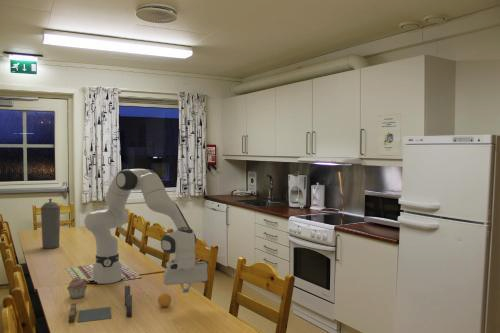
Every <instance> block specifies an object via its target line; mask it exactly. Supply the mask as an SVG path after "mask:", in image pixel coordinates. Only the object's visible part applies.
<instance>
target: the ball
mask: <svg viewBox="0 0 500 333" xmlns="http://www.w3.org/2000/svg"><path fill="white" fill-rule="evenodd" d="M171 302H172V297H171V295H170V294H168V293H166V292H165V293H161V294H160V295H159V296H158V297H157V303H158V305H159V306H160V307H162V308H167V307H169V306H170V305H171Z"/></svg>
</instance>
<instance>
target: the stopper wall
mask: <svg viewBox="0 0 500 333" xmlns="http://www.w3.org/2000/svg"><path fill="white" fill-rule="evenodd" d="M69 308H70V309H69V312H68V313H69V314H68V324H73V323H75V319H76V313H77V303H70V307H69Z"/></svg>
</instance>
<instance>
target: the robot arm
mask: <svg viewBox="0 0 500 333" xmlns="http://www.w3.org/2000/svg"><path fill="white" fill-rule="evenodd" d="M132 191H141V192H142V196H143V200H144V201H145V204H146V206H147V207H148V208H149V210H150V211H152V212H155V213H159V214H163V215H165V216H167V217H169V218H170V219H171V220H172V221H173V222H172V223H173V224H174V225H175V228H176V230H174V231H173V232H169V233H166V234H164V235H162V237H161V240H160V247H161V249H162V251H163V252H164V253H165V254H175V258H174V259H171V260H169V261H167V262H166V263H165V264H166V265H165V266H166V268H165V269H164V271H163V272H164V273H163V284H164V285H165V286H173V285H174V286H175V285H180V287H181V289H182V293H183V294H184V293H185V294H186V293H190V289H191V287H192V285H193V284H194V283H201V282H207V280H208V278H209V276H208V268H209V267H208V265H209V264H208V262H206V261H204V260H202V261H196V253H195V250H196V244H197V240H198V239H197V236H196V233H195V232H194V230H193V228H191V226H189V224H188V220H186V218H185V216H184V214H183V213H182V210H181V208H180V207H179V206H178V204H177V203H176V202H175V201H174V200H173V199H171V198H170V196H169V194H168V192H167V190H166V188H165V186H164V183H163V181H162V180H161V178H160V177H159V175H158V174H157V172H156V171H155V170H152V169H149V168H146V169H145V168H126V169H123V170H119V171H118V172H117V173H116V174H115V176H114V178H113V179H112V180H111V183H110V185H109V187H108V189H107V192H106V194H105V195H104V196H105V197H104V202H105V203H106V205H107V207H106V208H105V209H98V210H94V211H92V212H89V213H87V214H86V215H85V217H84V226H85V228H86V230H88V231H89V232H91V233H92V235H93V237H94V239H95V244H96V245H95V246H96V248H95V249H96V254H95V264H93V265H92V275H91V277H90V278H89V279H88V281H89V280H94V281H95V282H97V283H96V284H99V285H100V284H103V285H104V284H113V283H117V282H120V281H121V279H122V280H124V278H125V279H126V275H125V274H123V269H122V268H123V267H122V265H123V264H122V263H121V262H120V261H119V259H120V255H119V254H120V253H119V241H118V238H117V237H116V236H114V235H112V233H111V229H117V228H120V227H122V226H124V225H126V224H127V223H128V221H129V214H128V212H127V210H126V209H125V208H126V204H127V201H128V199H129V196H130V194H131V193H132ZM92 278H93V279H92ZM95 282H94V283H95ZM185 284H188V285H187V287H184V286H185Z"/></svg>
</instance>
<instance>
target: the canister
mask: <svg viewBox="0 0 500 333" xmlns="http://www.w3.org/2000/svg"><path fill="white" fill-rule="evenodd" d="M52 200H53V198H49V199H48V202H45V203H43V205H41V207H40V219H41V242H42V243H41V245H42V248H43V249H46V250H47V249H49V250H50V249H57V248H58V247H59V246H60V234H61V233H60V231H61V230H60V224H61V206H60V205H59V204H58V203H57V202H55V201H52Z"/></svg>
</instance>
